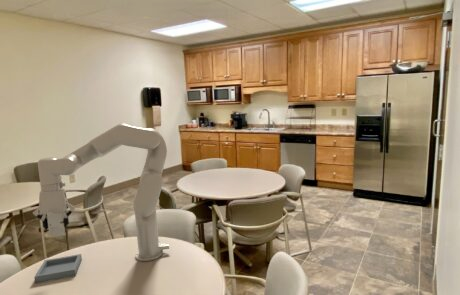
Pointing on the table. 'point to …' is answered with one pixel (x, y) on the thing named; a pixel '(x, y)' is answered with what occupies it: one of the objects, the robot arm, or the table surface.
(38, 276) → the tray
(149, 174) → the robot arm
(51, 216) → the skincare box
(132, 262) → the table surface
